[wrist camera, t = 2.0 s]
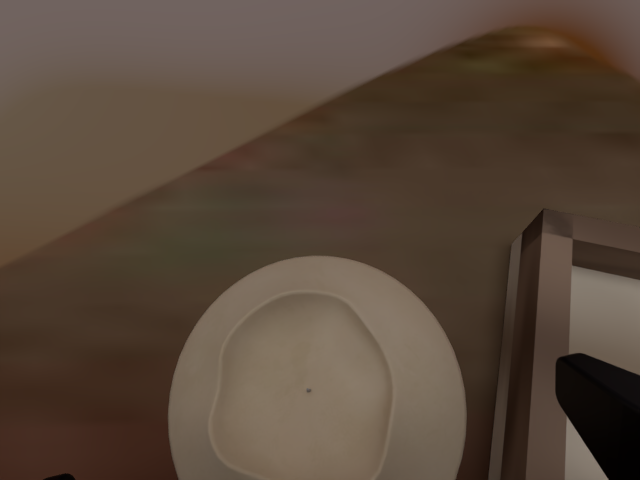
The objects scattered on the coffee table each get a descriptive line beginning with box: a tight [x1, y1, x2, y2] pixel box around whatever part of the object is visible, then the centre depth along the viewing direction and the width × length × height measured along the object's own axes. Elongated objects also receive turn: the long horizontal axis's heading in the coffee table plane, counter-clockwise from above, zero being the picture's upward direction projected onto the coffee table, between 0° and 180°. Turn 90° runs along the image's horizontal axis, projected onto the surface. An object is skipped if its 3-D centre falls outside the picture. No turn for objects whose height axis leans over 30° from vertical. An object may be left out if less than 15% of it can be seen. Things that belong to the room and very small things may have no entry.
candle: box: [168, 256, 467, 480], centre depth 10 cm, size 6×6×10 cm
